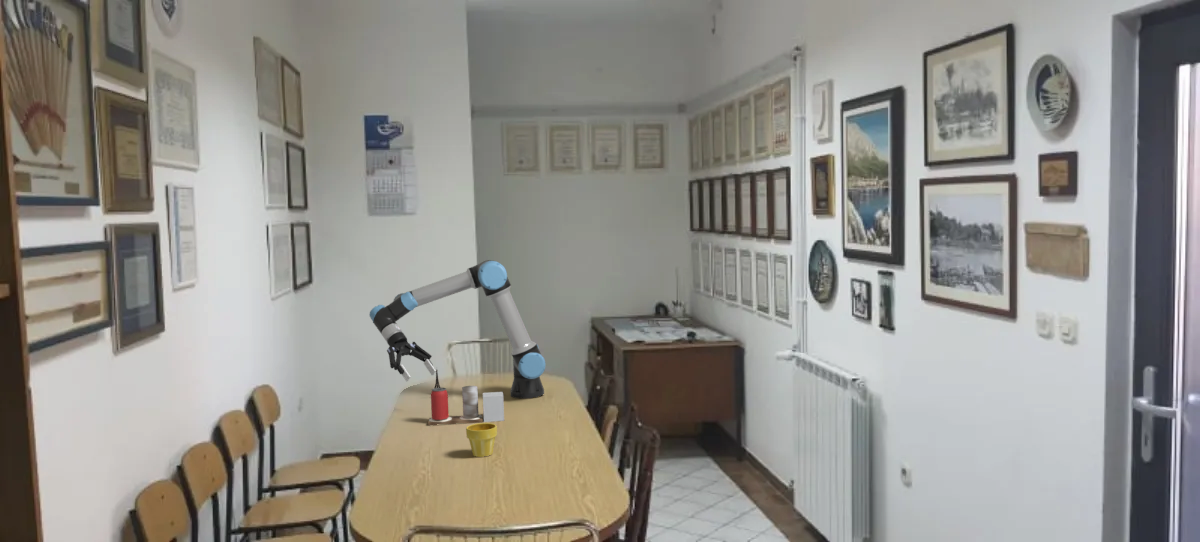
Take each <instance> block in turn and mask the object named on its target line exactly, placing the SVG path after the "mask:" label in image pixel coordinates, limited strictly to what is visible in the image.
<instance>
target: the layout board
mask: <svg viewBox="0 0 1200 542" xmlns="http://www.w3.org/2000/svg"><path fill="white" fill-rule="evenodd" d="M478 391H479V390H478V386H477V385H465V386H463V387H461V394H462V414H463V415H453V416H452V415H451V416H450V415H449V417H448V419H446V420H440V421H437V420H433V419H432V417H429V418H428V422H427V424H428V425H433V426H438V425H437V424H448V425H457V424H456V423H463V424H478V423H484V418H483V414H479V396H478V395H479V394H478Z"/></svg>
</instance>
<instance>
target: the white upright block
mask: <svg viewBox="0 0 1200 542" xmlns="http://www.w3.org/2000/svg"><path fill="white" fill-rule="evenodd" d="M504 401H505V400H504V393H503V391H493V392H492V391H491V392H483V393H482V407H483V423H492V422H504V421H505V407H504V406H505V405H504Z"/></svg>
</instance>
